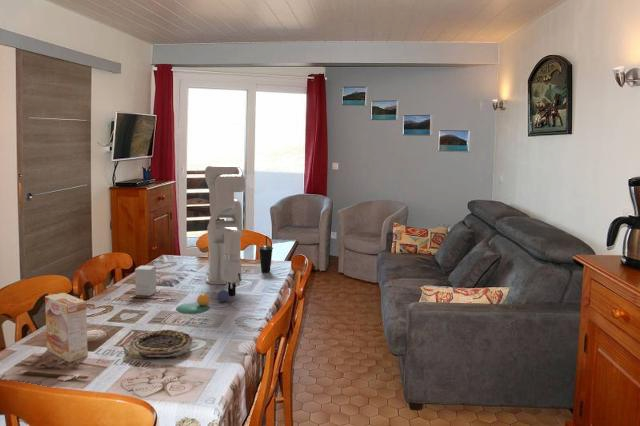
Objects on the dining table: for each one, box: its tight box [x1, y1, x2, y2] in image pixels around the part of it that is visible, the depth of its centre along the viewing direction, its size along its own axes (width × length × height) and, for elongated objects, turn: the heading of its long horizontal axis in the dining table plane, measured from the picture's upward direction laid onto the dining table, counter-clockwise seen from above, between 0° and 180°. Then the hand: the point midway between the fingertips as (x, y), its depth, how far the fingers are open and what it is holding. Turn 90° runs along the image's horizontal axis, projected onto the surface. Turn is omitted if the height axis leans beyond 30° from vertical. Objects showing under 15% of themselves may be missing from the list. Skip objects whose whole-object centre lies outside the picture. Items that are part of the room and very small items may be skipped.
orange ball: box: [196, 293, 211, 306], centre depth 243 cm, size 6×6×6 cm
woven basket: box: [123, 329, 193, 365], centre depth 193 cm, size 28×27×5 cm
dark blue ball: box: [216, 289, 230, 303], centre depth 249 cm, size 6×6×6 cm
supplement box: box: [134, 265, 157, 296], centre depth 258 cm, size 7×7×13 cm
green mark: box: [176, 302, 210, 315], centre depth 240 cm, size 14×14×1 cm
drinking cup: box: [258, 236, 274, 274], centre depth 305 cm, size 8×8×20 cm
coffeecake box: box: [44, 292, 89, 363], centre depth 187 cm, size 15×7×20 cm, turn 52°
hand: (231, 295), depth 254 cm, fingers closed
